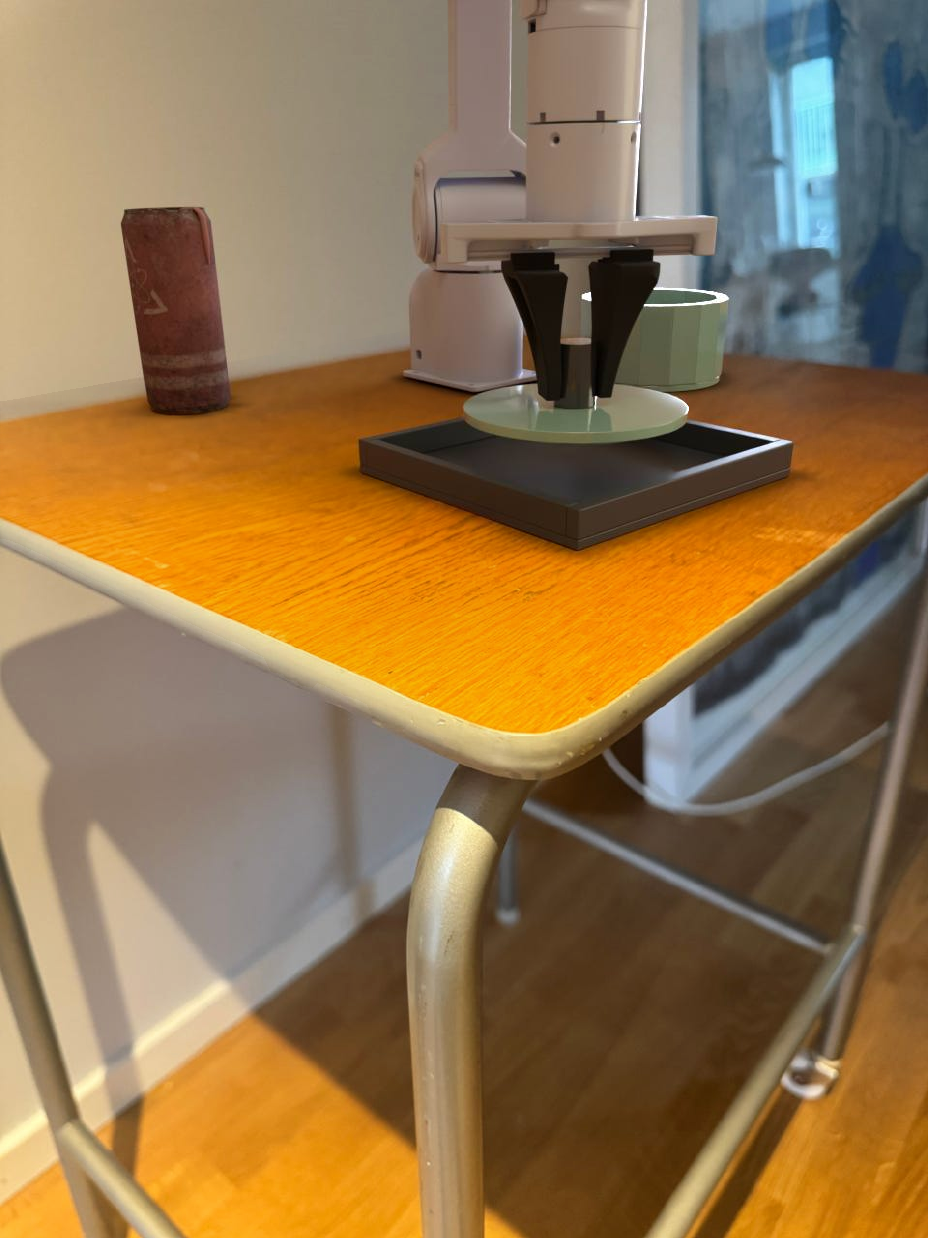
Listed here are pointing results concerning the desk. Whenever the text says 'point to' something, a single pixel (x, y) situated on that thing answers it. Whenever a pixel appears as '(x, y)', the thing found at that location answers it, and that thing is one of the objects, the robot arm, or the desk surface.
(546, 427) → the lid
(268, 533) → the desk surface
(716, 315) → the pot
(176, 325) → the can
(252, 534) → the desk surface
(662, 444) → the tray
